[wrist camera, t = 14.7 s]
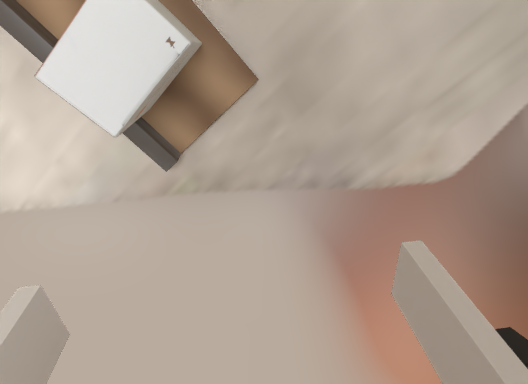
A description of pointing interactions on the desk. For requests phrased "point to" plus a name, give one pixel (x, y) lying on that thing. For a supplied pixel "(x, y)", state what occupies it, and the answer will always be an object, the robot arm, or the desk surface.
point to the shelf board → (176, 94)
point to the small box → (117, 60)
